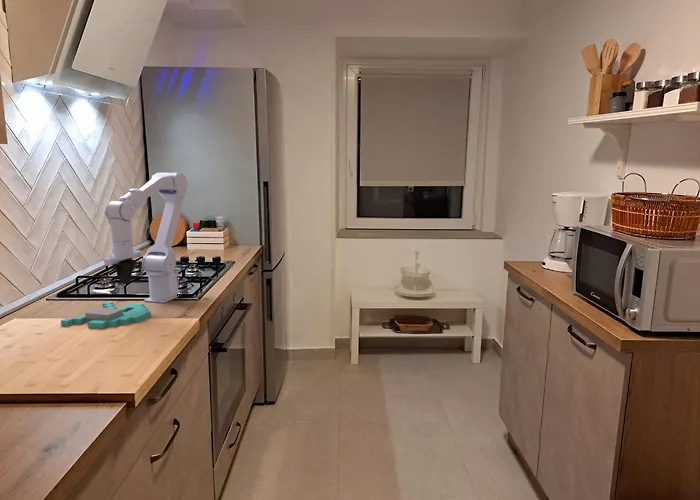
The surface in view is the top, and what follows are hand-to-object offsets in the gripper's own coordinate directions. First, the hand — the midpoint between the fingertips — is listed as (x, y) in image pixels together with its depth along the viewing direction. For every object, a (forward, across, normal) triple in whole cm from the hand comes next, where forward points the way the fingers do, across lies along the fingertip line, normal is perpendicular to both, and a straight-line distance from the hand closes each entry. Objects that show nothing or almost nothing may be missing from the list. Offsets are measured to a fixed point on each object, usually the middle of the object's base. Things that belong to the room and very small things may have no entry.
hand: (126, 283), depth 155 cm
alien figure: (+10, +6, 0) cm, 11 cm away
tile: (+7, +6, -1) cm, 9 cm away
